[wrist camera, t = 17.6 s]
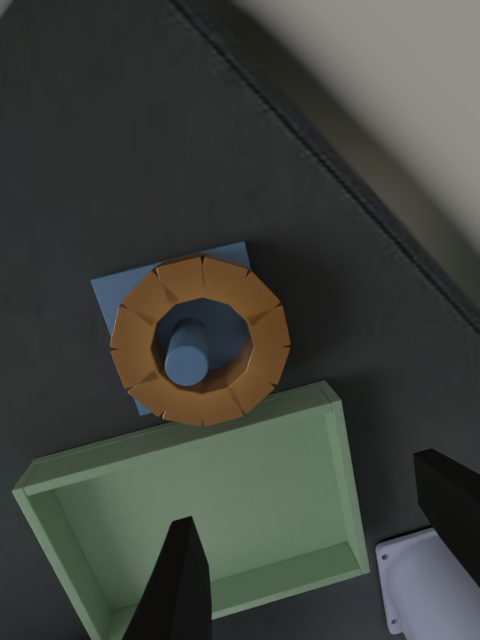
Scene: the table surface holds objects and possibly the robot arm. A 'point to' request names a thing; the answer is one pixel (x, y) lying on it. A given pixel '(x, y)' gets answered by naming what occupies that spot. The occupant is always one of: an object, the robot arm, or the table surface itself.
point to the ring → (219, 384)
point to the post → (183, 322)
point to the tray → (203, 507)
